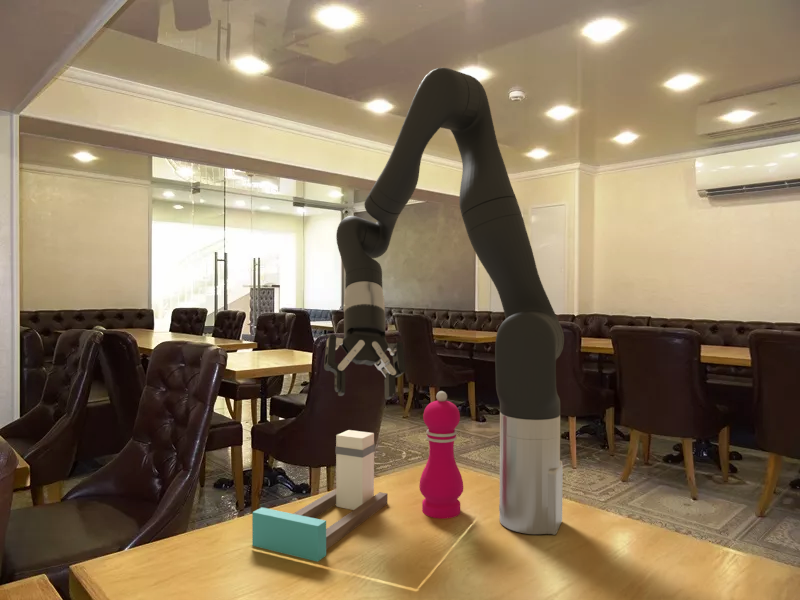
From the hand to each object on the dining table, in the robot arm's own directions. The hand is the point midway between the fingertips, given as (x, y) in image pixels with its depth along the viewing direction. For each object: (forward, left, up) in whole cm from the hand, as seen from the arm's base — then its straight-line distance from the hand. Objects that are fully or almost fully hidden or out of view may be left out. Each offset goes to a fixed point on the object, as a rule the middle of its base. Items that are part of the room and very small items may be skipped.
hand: (365, 396), depth 96 cm
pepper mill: (-13, -2, -19) cm, 23 cm away
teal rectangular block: (+1, +21, -18) cm, 28 cm away
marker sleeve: (+1, +2, -18) cm, 18 cm away
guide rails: (+1, +10, -18) cm, 21 cm away
